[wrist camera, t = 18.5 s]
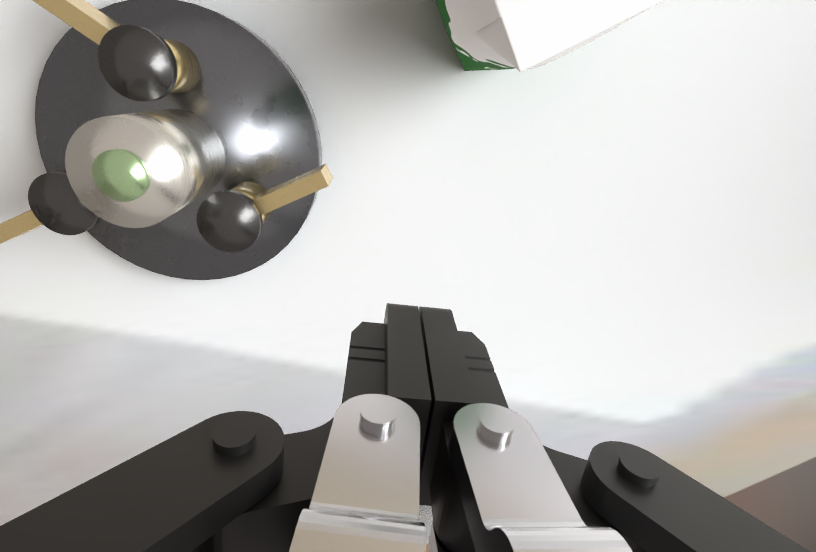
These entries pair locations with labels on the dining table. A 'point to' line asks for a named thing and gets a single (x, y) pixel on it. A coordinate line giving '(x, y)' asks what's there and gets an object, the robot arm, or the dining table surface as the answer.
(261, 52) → the base
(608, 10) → the milk carton
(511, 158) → the dining table surface
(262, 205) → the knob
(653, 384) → the dining table surface
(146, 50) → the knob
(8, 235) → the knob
